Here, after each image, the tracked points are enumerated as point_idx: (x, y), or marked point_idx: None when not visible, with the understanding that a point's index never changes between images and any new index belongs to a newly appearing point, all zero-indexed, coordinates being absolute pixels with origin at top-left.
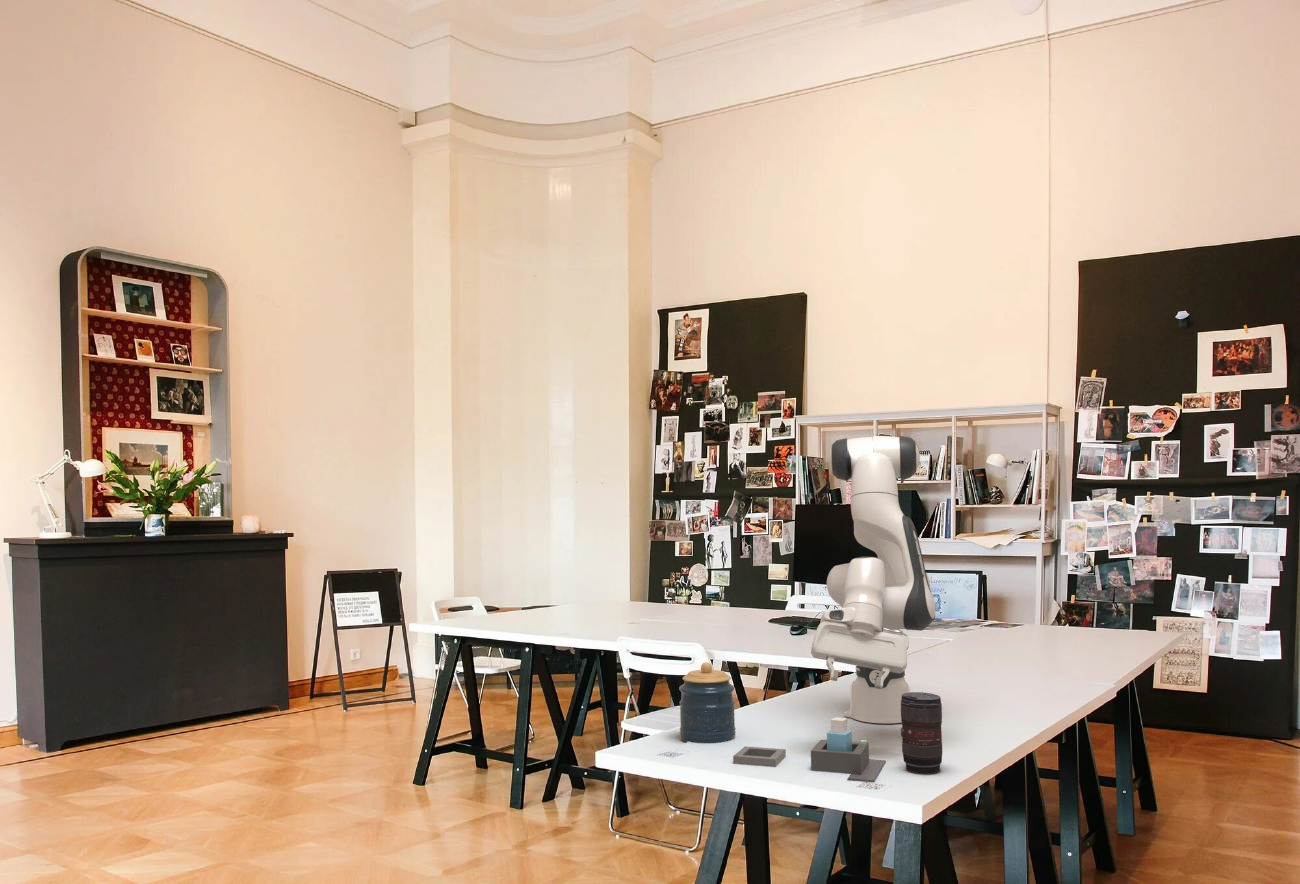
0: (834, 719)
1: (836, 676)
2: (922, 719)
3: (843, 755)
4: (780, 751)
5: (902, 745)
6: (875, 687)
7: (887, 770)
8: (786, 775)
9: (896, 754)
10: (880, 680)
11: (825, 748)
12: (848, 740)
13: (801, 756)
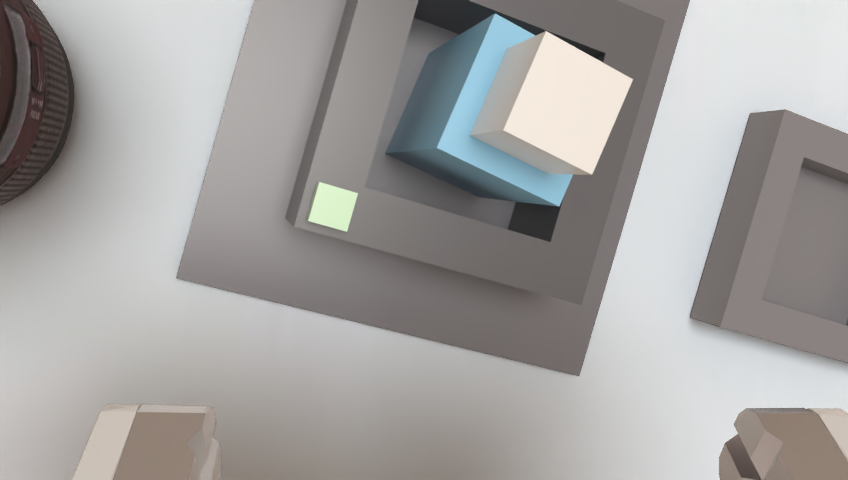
0: (604, 87)
1: (779, 420)
2: None
3: None
4: (747, 279)
5: (56, 77)
6: (212, 439)
7: (191, 91)
8: (713, 2)
9: None
10: (122, 473)
11: None
12: (454, 78)
13: (614, 373)
